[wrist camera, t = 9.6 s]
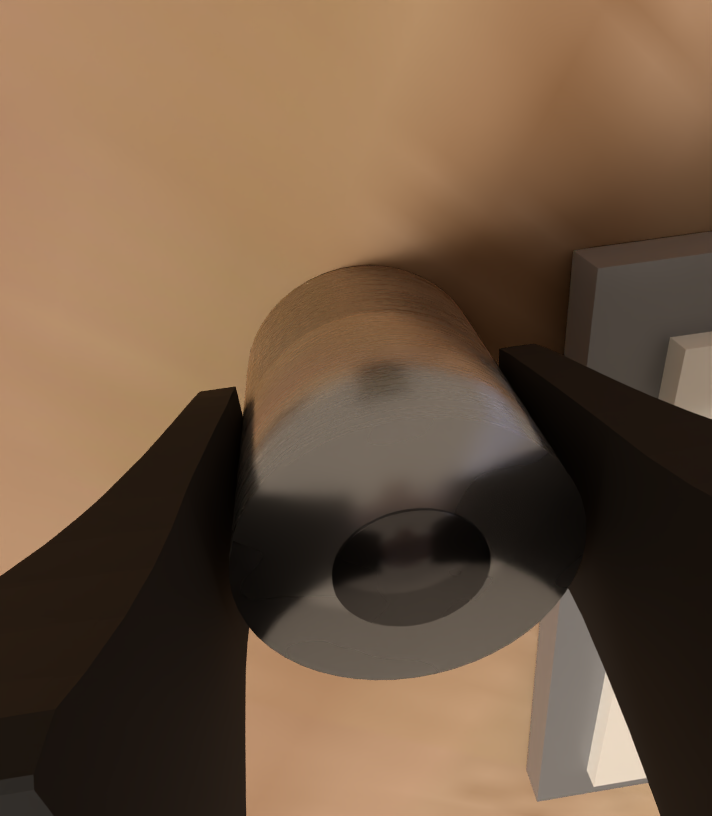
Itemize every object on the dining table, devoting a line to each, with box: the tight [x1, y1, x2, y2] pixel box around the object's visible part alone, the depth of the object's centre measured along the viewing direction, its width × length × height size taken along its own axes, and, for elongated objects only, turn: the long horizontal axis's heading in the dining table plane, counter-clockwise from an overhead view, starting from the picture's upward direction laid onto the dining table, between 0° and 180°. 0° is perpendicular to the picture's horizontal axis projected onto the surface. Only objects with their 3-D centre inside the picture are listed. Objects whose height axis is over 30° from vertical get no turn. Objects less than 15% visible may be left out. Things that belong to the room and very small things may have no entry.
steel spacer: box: [229, 266, 587, 680], centre depth 10 cm, size 4×4×5 cm
